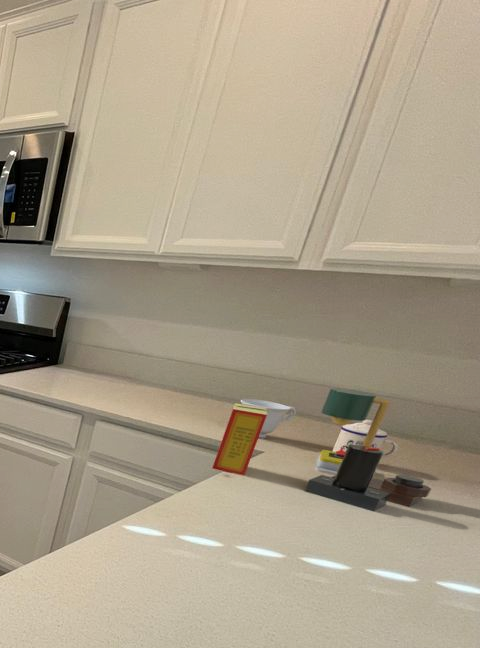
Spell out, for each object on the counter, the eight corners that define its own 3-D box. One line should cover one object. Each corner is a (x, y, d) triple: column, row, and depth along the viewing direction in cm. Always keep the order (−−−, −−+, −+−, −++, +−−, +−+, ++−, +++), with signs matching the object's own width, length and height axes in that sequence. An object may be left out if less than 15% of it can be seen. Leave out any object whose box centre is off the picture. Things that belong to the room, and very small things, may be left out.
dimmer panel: (386, 504, 131) (392, 491, 130) (372, 512, 126) (378, 499, 125) (318, 485, 141) (323, 473, 140) (302, 492, 136) (308, 479, 135)
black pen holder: (349, 490, 130) (366, 451, 126) (326, 480, 135) (342, 442, 132) (373, 491, 130) (391, 452, 127) (349, 482, 135) (366, 444, 132)
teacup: (298, 443, 175) (311, 411, 172) (244, 438, 177) (256, 406, 173) (272, 432, 186) (283, 401, 183) (221, 427, 188) (232, 397, 185)
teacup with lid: (331, 460, 161) (348, 420, 157) (326, 452, 168) (343, 413, 164) (391, 471, 154) (411, 430, 150) (384, 463, 161) (403, 423, 157)
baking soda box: (244, 475, 144) (267, 413, 139) (212, 468, 148) (233, 407, 143) (245, 466, 151) (267, 407, 146) (215, 459, 155) (235, 401, 150)
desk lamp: (374, 471, 141) (407, 399, 134) (363, 476, 137) (397, 402, 130) (309, 455, 151) (337, 386, 144) (297, 459, 147) (325, 389, 140)
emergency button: (369, 453, 154) (371, 465, 144) (363, 468, 156) (363, 481, 145) (323, 443, 160) (321, 455, 150) (316, 458, 162) (314, 470, 151)
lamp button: (423, 487, 133) (426, 480, 132) (417, 490, 131) (421, 483, 130) (396, 480, 137) (399, 473, 136) (390, 483, 134) (394, 476, 134)
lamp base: (428, 501, 135) (436, 485, 133) (416, 509, 130) (424, 493, 128) (342, 478, 147) (348, 464, 145) (328, 485, 142) (334, 469, 140)
